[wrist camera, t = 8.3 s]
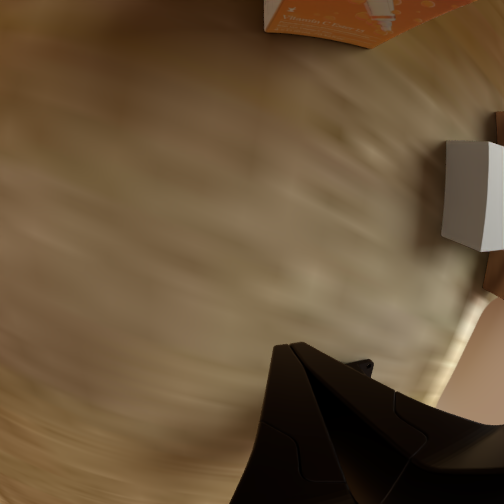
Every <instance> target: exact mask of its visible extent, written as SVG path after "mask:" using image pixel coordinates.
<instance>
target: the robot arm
mask: <svg viewBox="0 0 504 504" xmlns="http://www.w3.org/2000/svg"><path fill="white" fill-rule="evenodd" d="M368 364H369V365H368ZM367 365H368V366H367ZM373 366H374V363H373V362H372V360H370V359H367V360H363V361H358V362H353V363H349V364H343V363H341V362H339V361H337V360H336V359H334V358H332V357H330V356H328V355H326V354H325V353H323V352H321V351H319V350H317V349H315V348H314V347H312V346H310V345H308V344H306V343H304V342H297V343H291V344H289V345H288V344H283V345H275V346H274V347H273V352H272V358H271V363H270V369H269V374H268V380H267V385H266V390H265V396H264V401H263V406H262V411H261V416H260V423H259V425H258V430H257V435H256V439H255V443H254V446H253V450H252V453H251V455H250V458H249V461H248V463H247V466H246V468H245V470H244V473H243V475H242V477H241V479H240V482H239V484H238V486H237V488H236V490H235V493H234V495H233V497H232V499H231V501H230V503H229V504H504V425H485V424H481V423H478V422H474V421H471V420H468V419H465V418H462V417H459V416H456V415H453V414H450V413H447V412H444V411H442V410H439V409H436V408H434V407H431V406H428V405H426V404H423V403H421V402H419V401H417V400H414V399H412V398H410V397H408V396H406V395H404V394H402V393H400V392H398V391H397V392H395V390H393V389H391V388H389V387H387V386H385V385H383V384H382V383H380V382H378V381H376V380H374V379H372V378H371V374H372V370H373Z"/></svg>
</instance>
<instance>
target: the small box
mask: <svg viewBox="0 0 504 504" xmlns="http://www.w3.org/2000/svg"><path fill="white" fill-rule="evenodd" d="M475 1H477V0H264V31H265V32H271V33H288V34H297V35H305V36H312V37H319V38H325V39H330V40H335V41H340V42H345V43H349V44H353V45H357V46H361V47H365V48H369V49H372V48H374V47H376V46H378V45H380V44H382V43H384V42H386V41H388V40H389V39H391V38H393V37H395V36H397V35H399V34H401V33H403V32H405V31H407V30H409V29H411V28H414V27H416V26H418V25H420V24H422V23H424V22H426V21H429V20H431V19H433V18H435V17H437V16H440V15H442V14H444V13H447V12H449V11H452V10H454V9H456V8H459V7H462V6H464V5H467V4H469V3H472V2H475Z"/></svg>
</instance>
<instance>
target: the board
mask: <svg viewBox="0 0 504 504" xmlns="http://www.w3.org/2000/svg"><path fill="white" fill-rule="evenodd" d="M496 125H497V144H498V145H501V146H503V147H504V111H503V112H496ZM482 288H484V289H486V290H487V291H489V292H491V293H493V294H495V295H496V296H498V297H500V298H502V299H503V300H504V250H495V251H490V252H489V258H488V263H487V268H486V273H485V278H484V283H483V287H482Z"/></svg>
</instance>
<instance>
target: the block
mask: <svg viewBox="0 0 504 504" xmlns="http://www.w3.org/2000/svg"><path fill="white" fill-rule="evenodd" d="M441 236H442V237H445V238H447V239H450V240H452V241H455V242H457V243H460V244H462V245H465V246H467V247H470V248H472V249H475V250H477V251H479V252H485V251H495V250H504V147H503V146H501V145H498V144H495V143H492V142H489V141H446V181H445V198H444V211H443V222H442V231H441Z"/></svg>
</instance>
